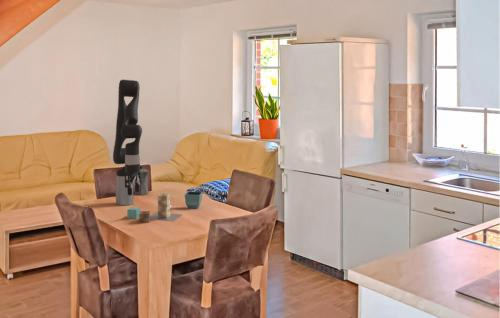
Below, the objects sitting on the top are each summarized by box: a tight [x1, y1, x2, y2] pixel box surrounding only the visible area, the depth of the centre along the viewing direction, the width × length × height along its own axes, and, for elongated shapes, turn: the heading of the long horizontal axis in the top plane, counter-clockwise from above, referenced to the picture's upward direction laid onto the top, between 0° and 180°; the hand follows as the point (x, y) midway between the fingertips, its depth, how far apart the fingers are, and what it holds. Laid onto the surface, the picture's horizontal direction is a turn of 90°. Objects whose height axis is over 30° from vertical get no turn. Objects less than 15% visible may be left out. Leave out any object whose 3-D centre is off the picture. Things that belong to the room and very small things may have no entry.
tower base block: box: [157, 204, 171, 218], centre depth 291 cm, size 5×5×6 cm
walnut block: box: [138, 210, 151, 224], centre depth 282 cm, size 5×5×6 cm
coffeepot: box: [133, 165, 150, 196], centre depth 352 cm, size 15×9×18 cm, turn 54°
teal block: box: [126, 206, 141, 220], centre depth 290 cm, size 5×5×6 cm
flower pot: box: [184, 191, 203, 210], centre depth 314 cm, size 9×9×9 cm
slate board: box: [150, 212, 183, 222], centre depth 291 cm, size 16×14×1 cm
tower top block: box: [157, 193, 171, 208], centre depth 290 cm, size 5×5×6 cm
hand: (133, 193), depth 288 cm, fingers open, 8 cm apart
